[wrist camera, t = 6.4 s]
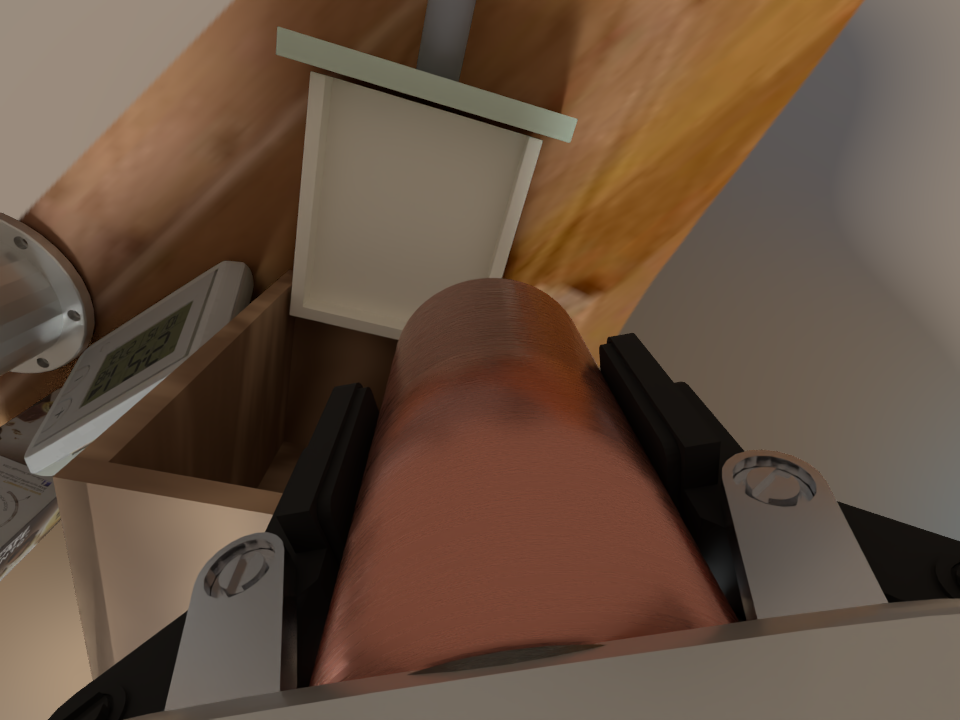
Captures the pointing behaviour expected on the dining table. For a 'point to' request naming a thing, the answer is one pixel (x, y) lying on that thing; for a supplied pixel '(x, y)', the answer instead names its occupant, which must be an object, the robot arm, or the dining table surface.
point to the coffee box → (23, 489)
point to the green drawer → (405, 177)
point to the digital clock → (136, 362)
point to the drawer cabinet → (200, 464)
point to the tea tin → (505, 504)
